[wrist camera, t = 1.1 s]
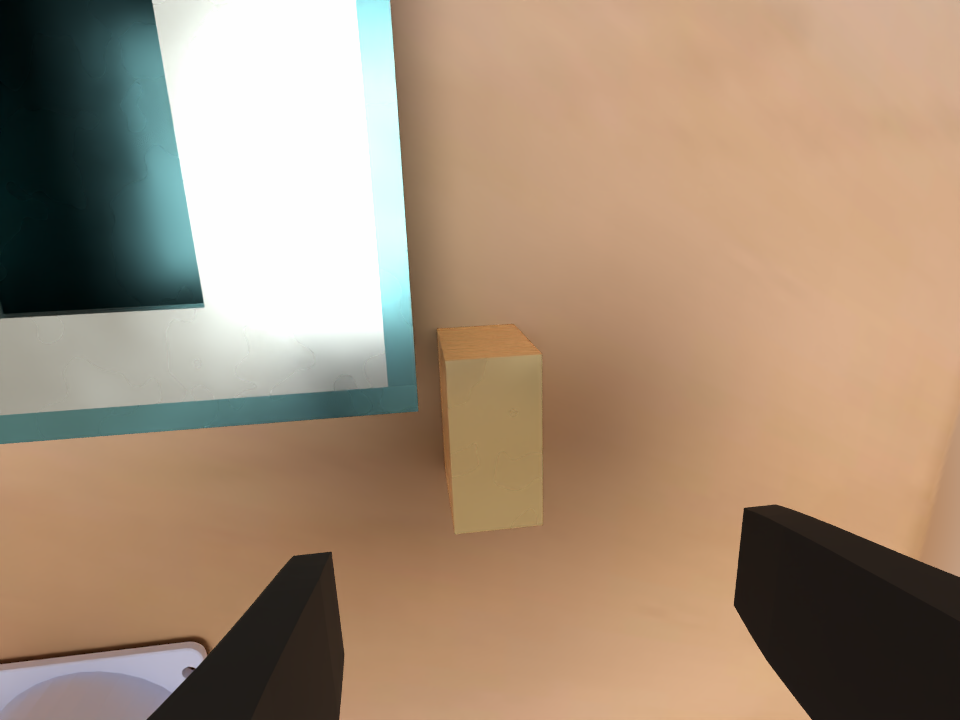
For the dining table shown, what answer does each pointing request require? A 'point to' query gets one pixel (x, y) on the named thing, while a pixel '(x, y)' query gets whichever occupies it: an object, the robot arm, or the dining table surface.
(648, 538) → the dining table surface
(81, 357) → the box
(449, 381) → the block
